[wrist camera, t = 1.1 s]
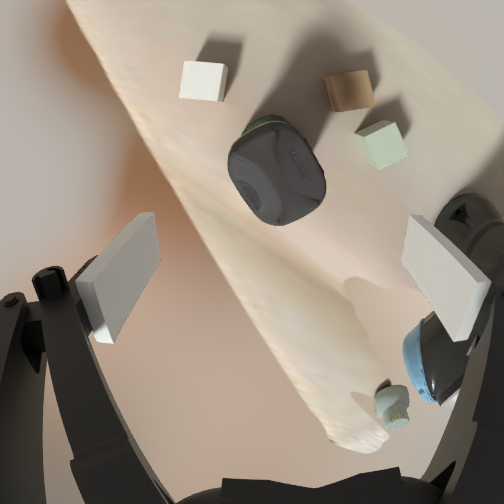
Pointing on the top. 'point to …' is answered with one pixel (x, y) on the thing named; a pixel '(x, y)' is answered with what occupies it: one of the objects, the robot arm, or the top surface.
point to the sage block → (382, 144)
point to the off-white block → (203, 81)
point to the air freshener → (392, 406)
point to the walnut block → (349, 91)
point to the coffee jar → (276, 171)
